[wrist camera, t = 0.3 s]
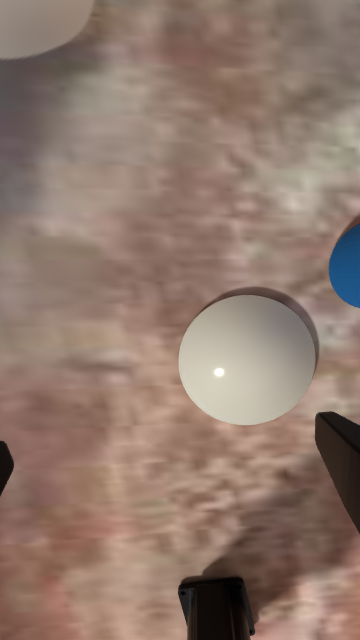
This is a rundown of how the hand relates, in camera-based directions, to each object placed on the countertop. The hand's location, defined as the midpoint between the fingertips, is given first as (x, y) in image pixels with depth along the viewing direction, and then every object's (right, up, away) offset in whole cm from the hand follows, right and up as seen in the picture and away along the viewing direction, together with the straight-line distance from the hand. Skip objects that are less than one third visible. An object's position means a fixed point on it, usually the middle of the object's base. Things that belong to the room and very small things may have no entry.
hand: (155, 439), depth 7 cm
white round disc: (+6, 0, +14) cm, 15 cm away
